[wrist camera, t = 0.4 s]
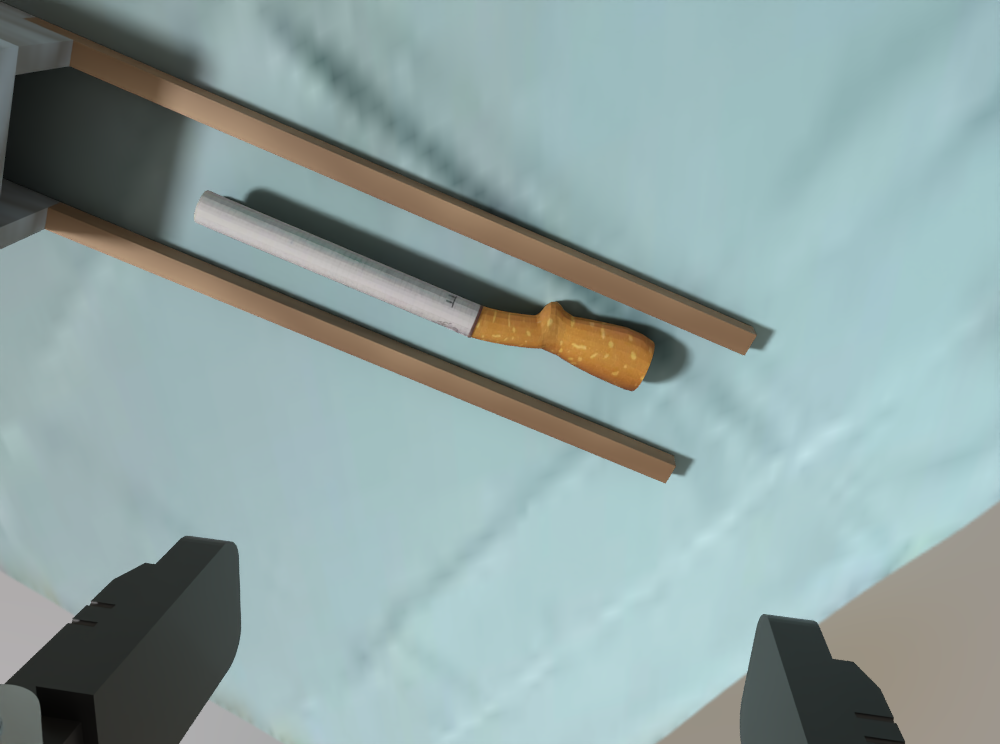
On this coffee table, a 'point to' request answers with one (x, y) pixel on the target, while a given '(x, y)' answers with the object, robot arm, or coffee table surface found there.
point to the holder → (22, 212)
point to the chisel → (440, 297)
